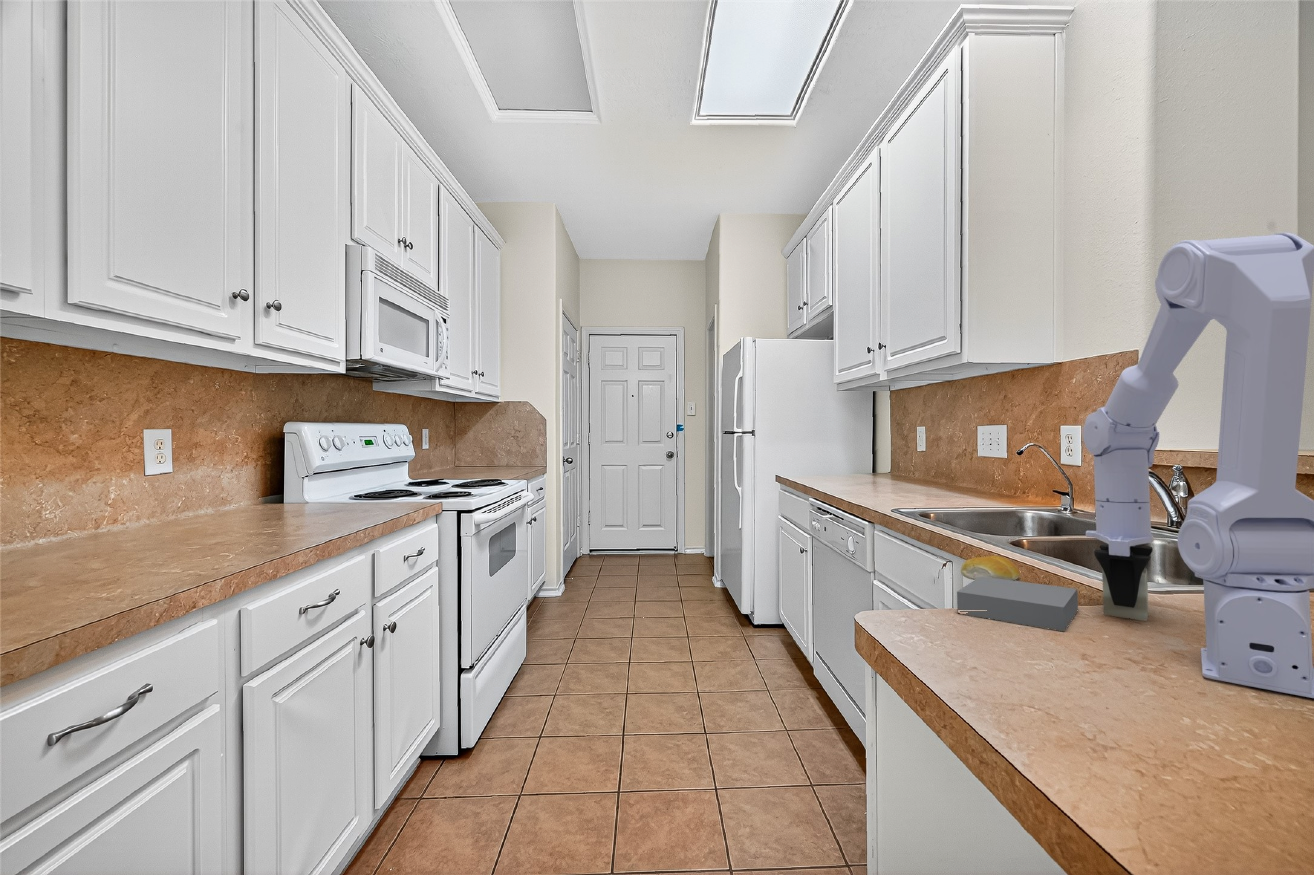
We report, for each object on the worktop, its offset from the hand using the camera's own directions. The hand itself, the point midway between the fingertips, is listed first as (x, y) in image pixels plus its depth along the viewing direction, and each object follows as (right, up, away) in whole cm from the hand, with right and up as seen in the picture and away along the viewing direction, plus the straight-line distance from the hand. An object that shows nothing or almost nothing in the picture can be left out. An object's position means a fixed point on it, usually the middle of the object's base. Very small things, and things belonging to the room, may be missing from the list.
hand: (1125, 601), depth 75 cm
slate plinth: (-13, -2, +2) cm, 14 cm away
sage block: (0, -2, 0) cm, 2 cm away
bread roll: (-5, -3, +22) cm, 23 cm away
